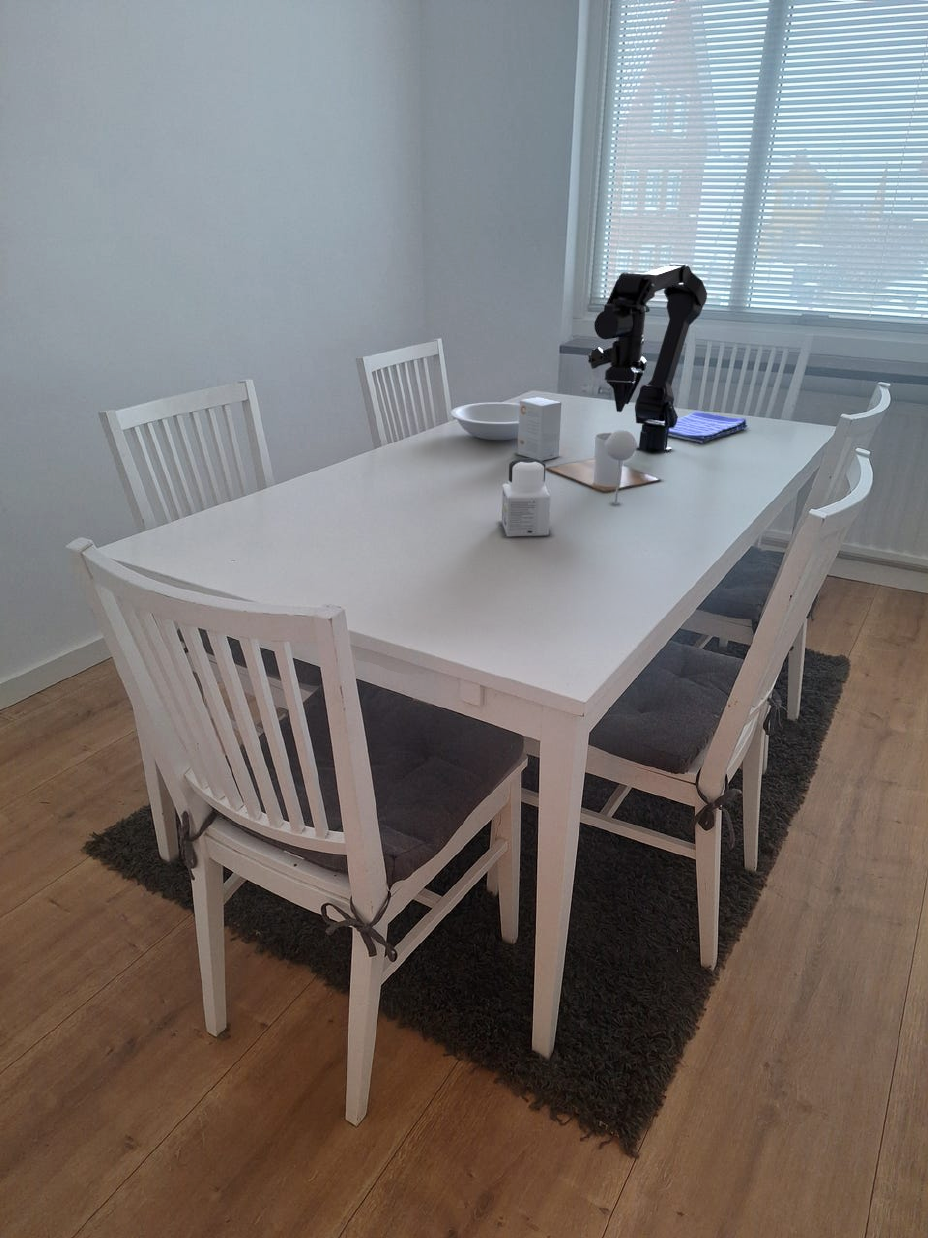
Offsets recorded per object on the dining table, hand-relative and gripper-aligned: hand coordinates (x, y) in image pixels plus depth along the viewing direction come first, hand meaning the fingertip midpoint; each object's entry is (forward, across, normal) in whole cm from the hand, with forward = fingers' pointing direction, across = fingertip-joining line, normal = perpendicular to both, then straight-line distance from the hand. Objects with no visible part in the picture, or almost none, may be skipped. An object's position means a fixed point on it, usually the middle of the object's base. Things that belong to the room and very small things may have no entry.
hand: (622, 407), depth 184 cm
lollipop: (+14, +29, +5) cm, 32 cm away
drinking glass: (+13, +17, +1) cm, 21 cm away
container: (+14, +49, -9) cm, 52 cm away
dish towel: (+13, -40, +15) cm, 44 cm away
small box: (+13, 0, -19) cm, 23 cm away
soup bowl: (+13, -13, -33) cm, 38 cm away
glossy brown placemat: (+13, +10, -2) cm, 16 cm away
